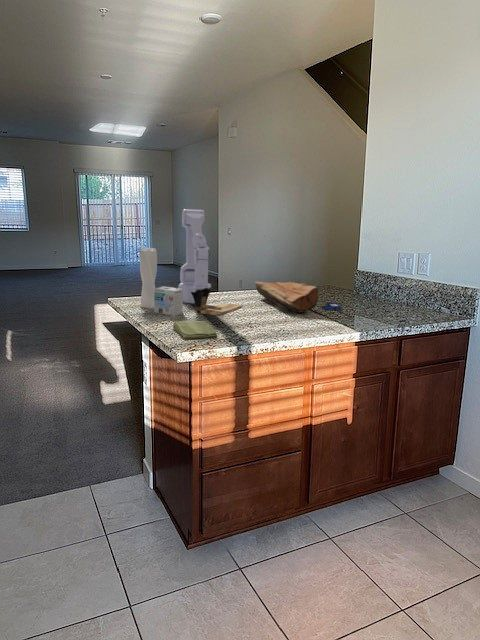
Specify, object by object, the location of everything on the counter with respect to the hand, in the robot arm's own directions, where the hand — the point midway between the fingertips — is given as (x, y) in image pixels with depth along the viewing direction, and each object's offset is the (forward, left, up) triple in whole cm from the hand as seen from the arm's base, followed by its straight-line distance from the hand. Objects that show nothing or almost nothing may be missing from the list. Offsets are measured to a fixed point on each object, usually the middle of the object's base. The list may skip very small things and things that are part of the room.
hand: (200, 306), depth 207 cm
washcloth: (+17, -34, -3) cm, 38 cm away
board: (+7, +8, -2) cm, 11 cm away
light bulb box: (-9, -11, -3) cm, 15 cm away
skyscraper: (-24, -5, -2) cm, 25 cm away
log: (+26, +35, -3) cm, 44 cm away
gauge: (+4, 0, -2) cm, 5 cm away
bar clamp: (+54, +35, -3) cm, 64 cm away
